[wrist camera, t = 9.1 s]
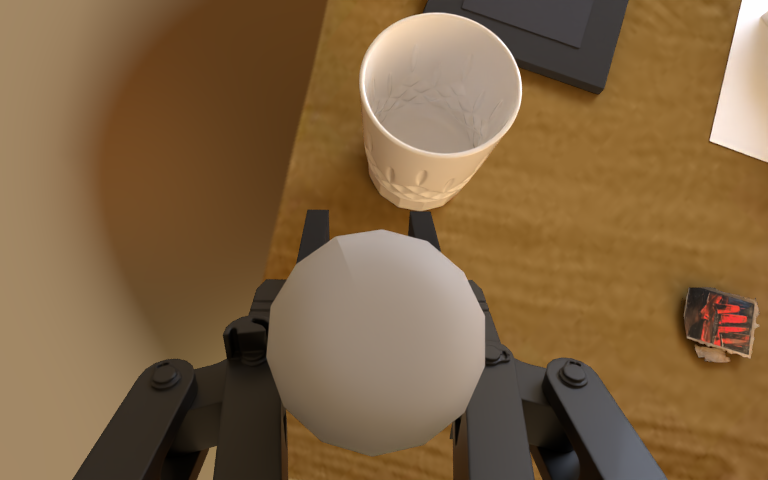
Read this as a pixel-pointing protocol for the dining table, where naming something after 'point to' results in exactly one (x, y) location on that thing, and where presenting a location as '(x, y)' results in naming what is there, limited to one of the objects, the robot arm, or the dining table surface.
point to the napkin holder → (746, 86)
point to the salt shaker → (376, 342)
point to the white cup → (434, 106)
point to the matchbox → (720, 323)
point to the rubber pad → (550, 34)
